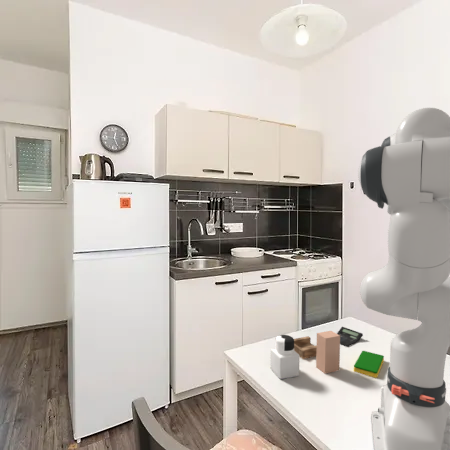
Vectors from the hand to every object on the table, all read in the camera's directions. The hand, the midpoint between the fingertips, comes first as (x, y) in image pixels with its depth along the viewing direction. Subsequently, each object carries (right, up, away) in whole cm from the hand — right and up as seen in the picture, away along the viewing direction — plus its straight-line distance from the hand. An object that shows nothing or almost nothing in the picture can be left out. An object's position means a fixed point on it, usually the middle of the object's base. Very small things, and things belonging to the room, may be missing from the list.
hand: (422, 229), depth 98 cm
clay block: (-28, -48, +6) cm, 56 cm away
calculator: (-13, -47, +30) cm, 57 cm away
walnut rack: (-32, -47, +20) cm, 60 cm away
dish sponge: (-13, -48, +8) cm, 51 cm away
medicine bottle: (-43, -48, +4) cm, 65 cm away
